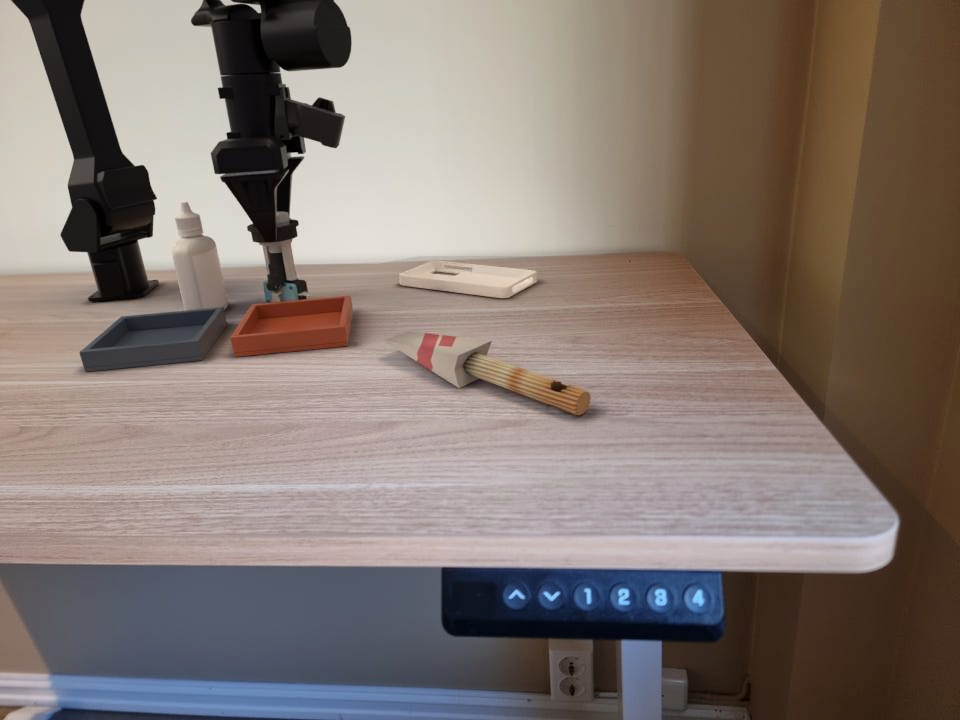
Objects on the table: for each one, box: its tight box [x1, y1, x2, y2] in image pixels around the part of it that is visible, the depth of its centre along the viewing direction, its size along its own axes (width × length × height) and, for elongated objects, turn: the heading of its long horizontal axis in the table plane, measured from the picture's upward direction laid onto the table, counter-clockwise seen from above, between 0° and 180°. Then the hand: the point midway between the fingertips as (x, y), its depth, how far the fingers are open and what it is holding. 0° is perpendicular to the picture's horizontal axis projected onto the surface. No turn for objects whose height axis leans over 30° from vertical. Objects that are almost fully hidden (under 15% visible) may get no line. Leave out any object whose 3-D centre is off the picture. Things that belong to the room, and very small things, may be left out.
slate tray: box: [78, 307, 228, 373], centre depth 65 cm, size 10×10×2 cm
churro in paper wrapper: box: [383, 330, 592, 416], centre depth 53 cm, size 4×3×20 cm
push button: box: [246, 212, 314, 303], centre depth 74 cm, size 7×5×10 cm
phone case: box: [398, 260, 538, 299], centre depth 79 cm, size 7×1×15 cm
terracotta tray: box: [230, 294, 354, 358], centre depth 67 cm, size 10×10×2 cm
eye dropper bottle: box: [171, 201, 229, 311], centre depth 73 cm, size 4×6×12 cm
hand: (278, 232), depth 73 cm, fingers open, 9 cm apart
